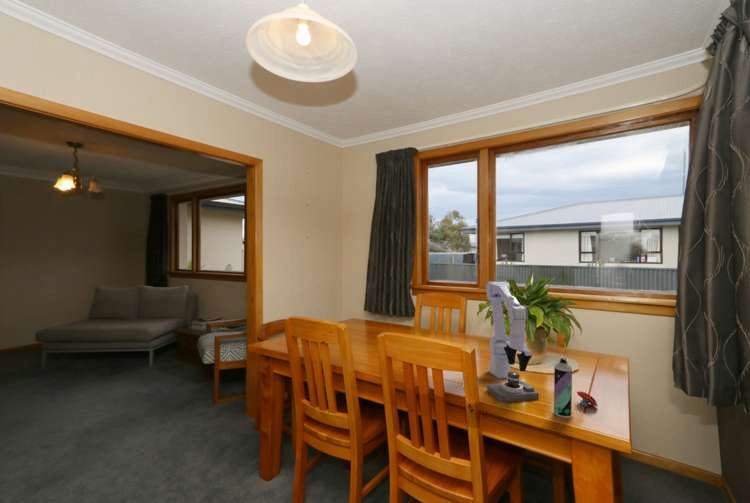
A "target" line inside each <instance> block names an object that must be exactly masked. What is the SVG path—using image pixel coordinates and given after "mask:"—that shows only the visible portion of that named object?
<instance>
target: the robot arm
mask: <svg viewBox="0 0 750 503" xmlns="http://www.w3.org/2000/svg"><path fill="white" fill-rule="evenodd" d="M485 291H486V298H487V300H489V301H490V305H491V311H492V312H491V313H492V320H493V321H492V322H493V327H494V328H493V329H494V335H493V336H492V337H491V338H490V340H489V352H490V357H489V369H488V370H487V372H489V374H491V375H492V376H494V377H496V378H497V379H508V378H507V376H508V372H511V371H510V370H511V366H513V365H515V363H516V362H515V361H516V356H517V359H518V364H519V365H518V367H519V371H520V372H526V371H527V367H528V363H529V362H530V360H531V359H532V357H533V355H532V354H531V350H530V349H528V346H527V345H526V321H527V320H528V318H529V311H528V308H527V306H525V305H521V303H520V302H519V301H518V299H517V297H515V296H513V295H512V294H511V292H510V291H511V285H510V283H509V282H508V281H489V280H488V281H487V283H486V286H485ZM503 305H504V307H505V308H506V311H507V316H508V323H509V326H510V327H509V335H507V334H506V333H507V332H506V326H505V325H506V324H505V318H504V311H503ZM517 352H519V353H517Z"/></svg>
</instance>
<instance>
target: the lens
mask: <svg viewBox="0 0 750 503" xmlns="http://www.w3.org/2000/svg"><path fill="white" fill-rule="evenodd" d="M506 379H507V381H508V384H507V387H511V388H519V380H520V373H518V372H515V371H510V372H508V376H507V378H506Z"/></svg>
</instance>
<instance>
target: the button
mask: <svg viewBox="0 0 750 503" xmlns="http://www.w3.org/2000/svg"><path fill="white" fill-rule="evenodd" d="M576 394H577V395H578V397H580V398H581V399H582V400H580V405H581V407H585V408H587V407H588V404H590V405H592V406H595V407H597V408H598V407H599V406H598V402H597V401H596V400H595V398H594V397H593V396H591V395H590V394H588V393H587V392H584V391H576Z"/></svg>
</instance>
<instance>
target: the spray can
mask: <svg viewBox="0 0 750 503" xmlns="http://www.w3.org/2000/svg"><path fill="white" fill-rule="evenodd" d="M567 361H568V360H567V359H566V358H564V357H561V358H560V360H559V361H558V362H555V363H554V371H553V372H554V375H553V376H554V382H553V384H554V389H553V406H554V407H553V413H554V415H555V416H557V417H559V418H562V419H571V418H572V416H573V415H572V409H573V408H572V407H573V406H572V404H573V403H572V402H573V397H572V396H573V392H572V391H573V368H572V365H570V364H569V362H567Z"/></svg>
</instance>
